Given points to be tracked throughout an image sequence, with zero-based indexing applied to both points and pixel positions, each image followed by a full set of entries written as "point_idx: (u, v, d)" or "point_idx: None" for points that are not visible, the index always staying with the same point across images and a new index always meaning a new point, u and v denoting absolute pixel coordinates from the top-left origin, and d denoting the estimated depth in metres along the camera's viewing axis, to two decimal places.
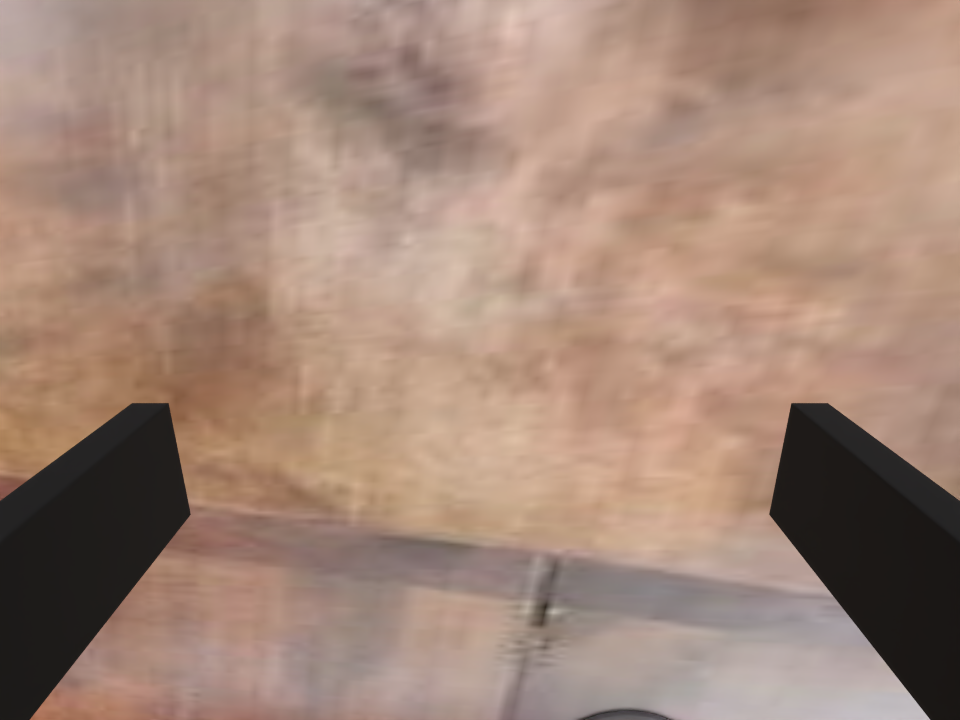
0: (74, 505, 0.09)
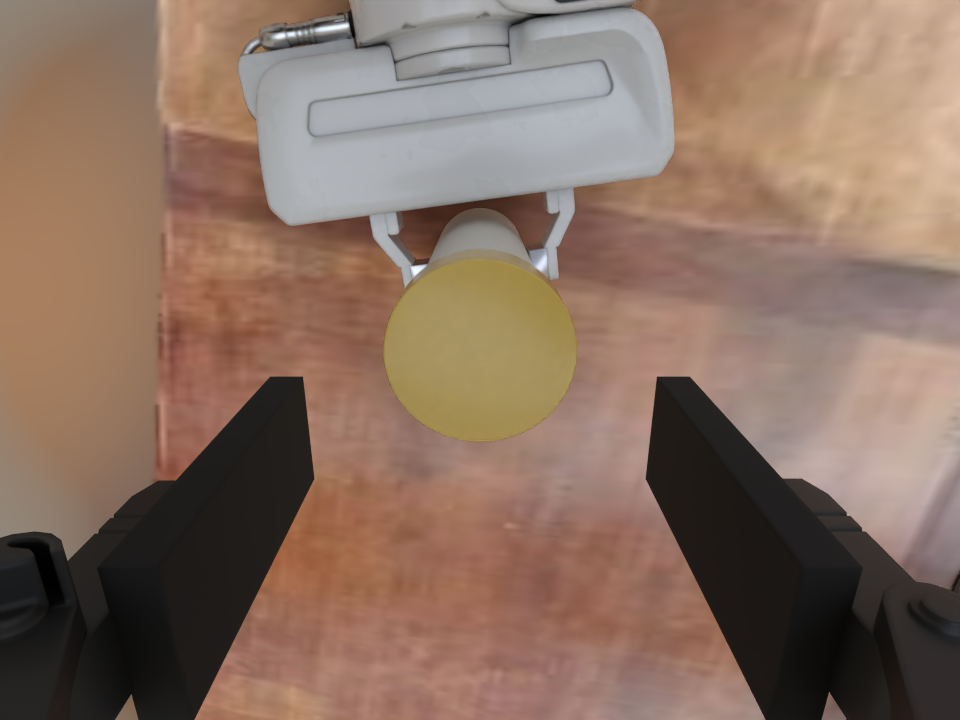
0: (256, 458, 0.11)
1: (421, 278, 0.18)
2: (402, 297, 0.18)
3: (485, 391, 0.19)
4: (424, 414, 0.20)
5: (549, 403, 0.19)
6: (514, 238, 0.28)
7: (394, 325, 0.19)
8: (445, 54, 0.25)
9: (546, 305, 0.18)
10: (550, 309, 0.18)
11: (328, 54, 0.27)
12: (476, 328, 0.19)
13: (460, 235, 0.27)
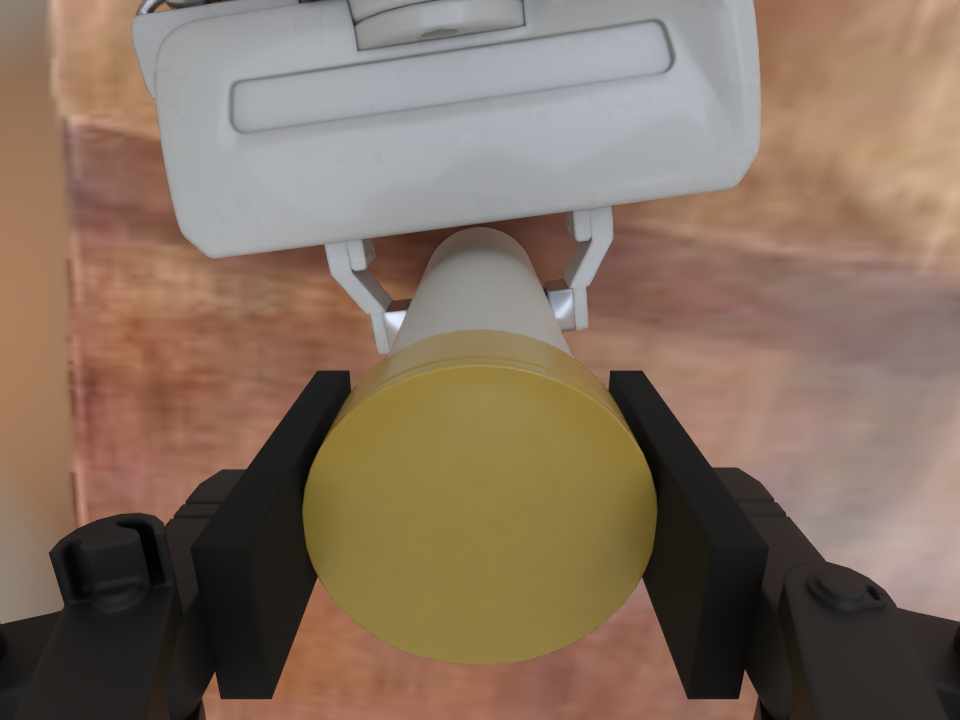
0: (316, 448, 0.11)
1: (368, 399, 0.09)
2: (333, 432, 0.10)
3: (489, 588, 0.11)
4: (381, 624, 0.11)
5: (604, 606, 0.11)
6: (529, 278, 0.20)
7: (320, 481, 0.10)
8: (427, 8, 0.17)
9: (604, 446, 0.10)
10: (612, 453, 0.10)
11: (256, 11, 0.18)
12: (473, 485, 0.10)
13: (450, 278, 0.18)
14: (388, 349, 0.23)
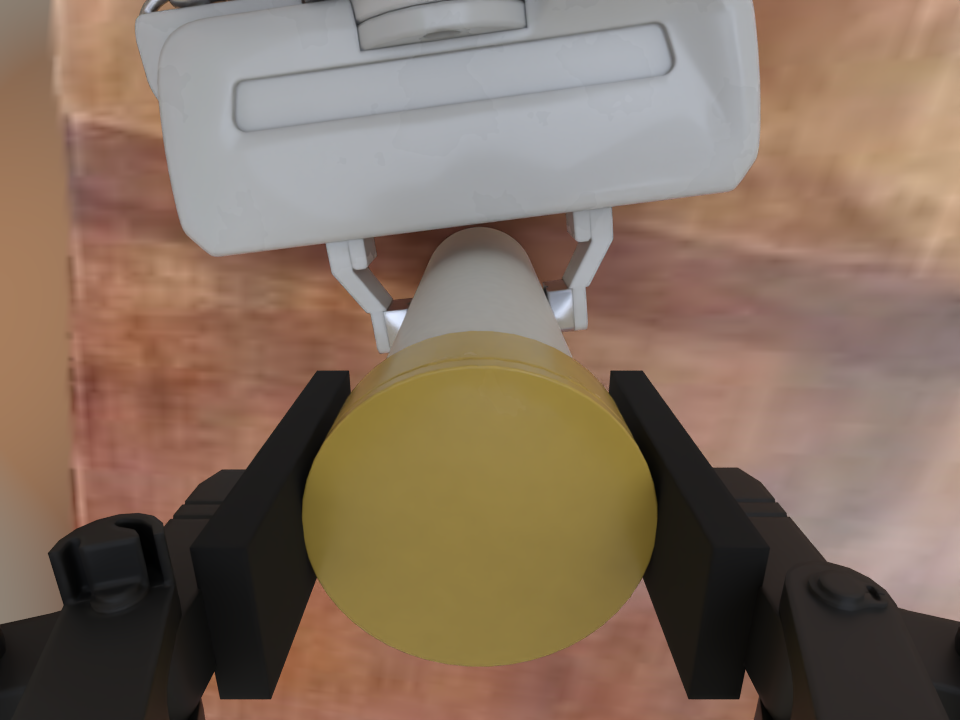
0: (315, 448, 0.11)
1: (338, 605, 0.11)
2: (370, 633, 0.11)
3: (551, 527, 0.10)
4: (584, 621, 0.11)
5: (591, 419, 0.10)
6: (529, 278, 0.20)
7: (418, 648, 0.11)
8: (430, 9, 0.17)
9: (385, 420, 0.10)
10: (393, 414, 0.09)
11: (260, 11, 0.18)
12: (427, 535, 0.10)
13: (451, 278, 0.18)
14: (388, 348, 0.23)
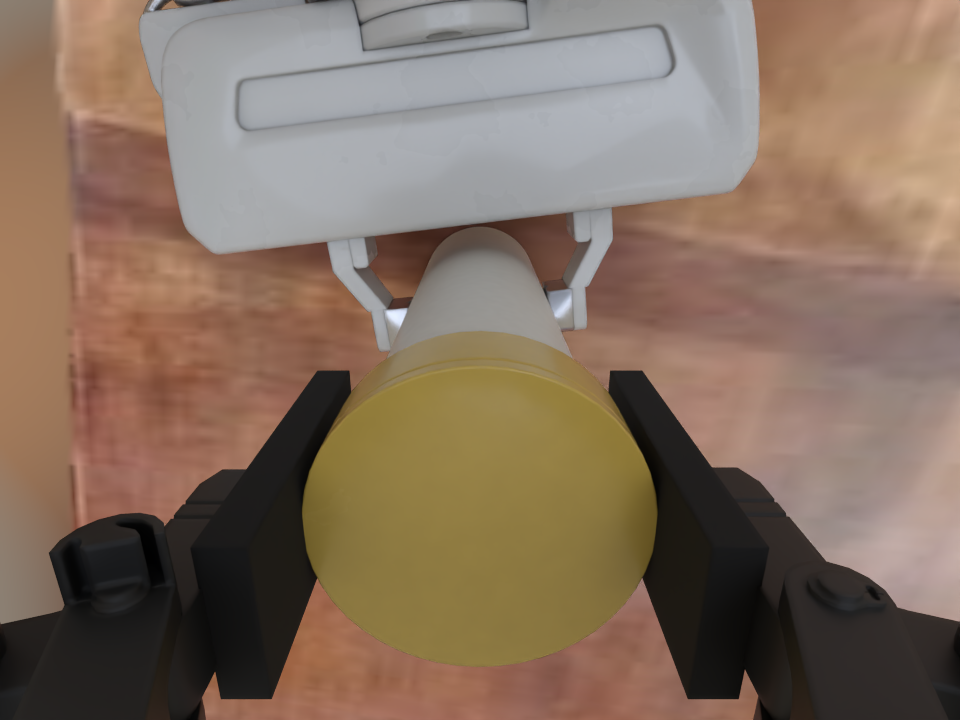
0: (316, 448, 0.11)
1: (556, 650, 0.11)
2: (594, 629, 0.11)
3: (478, 470, 0.10)
4: (607, 439, 0.10)
5: (353, 432, 0.10)
6: (529, 278, 0.20)
7: (618, 593, 0.11)
8: (432, 10, 0.17)
9: (356, 596, 0.11)
10: (349, 590, 0.11)
11: (263, 11, 0.18)
12: (479, 575, 0.11)
13: (452, 277, 0.18)
14: (389, 346, 0.23)
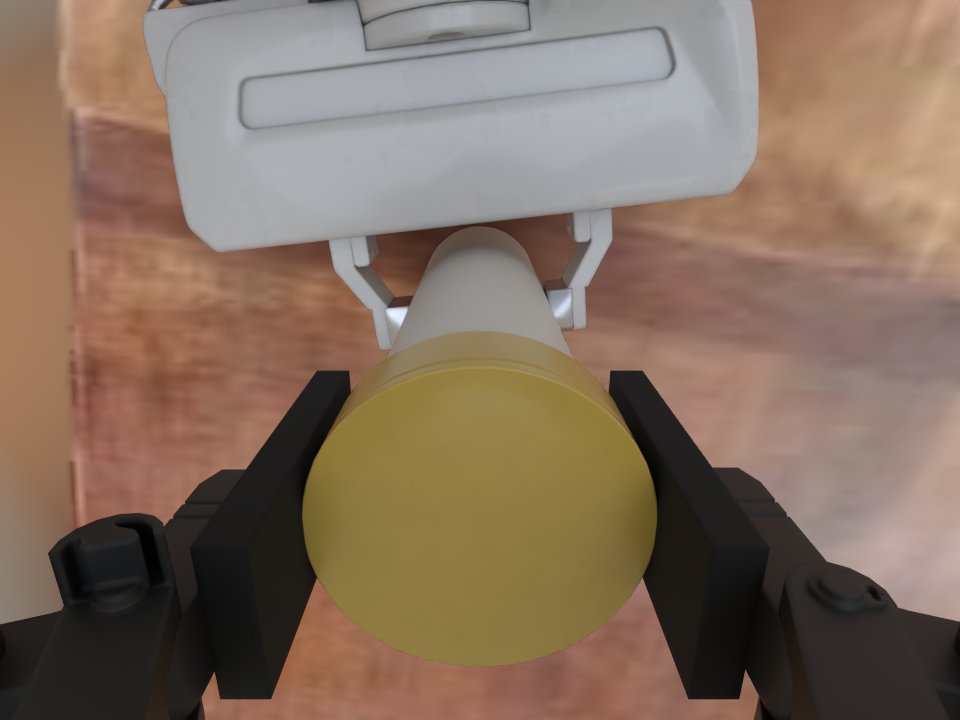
0: (316, 448, 0.11)
1: (646, 466, 0.10)
2: (621, 428, 0.10)
3: (408, 529, 0.10)
4: (375, 418, 0.10)
5: (368, 619, 0.11)
6: (529, 277, 0.20)
7: (571, 404, 0.09)
8: (435, 11, 0.17)
9: (546, 636, 0.11)
10: (537, 641, 0.11)
11: (267, 10, 0.19)
12: (532, 535, 0.10)
13: (453, 275, 0.18)
14: (389, 344, 0.23)
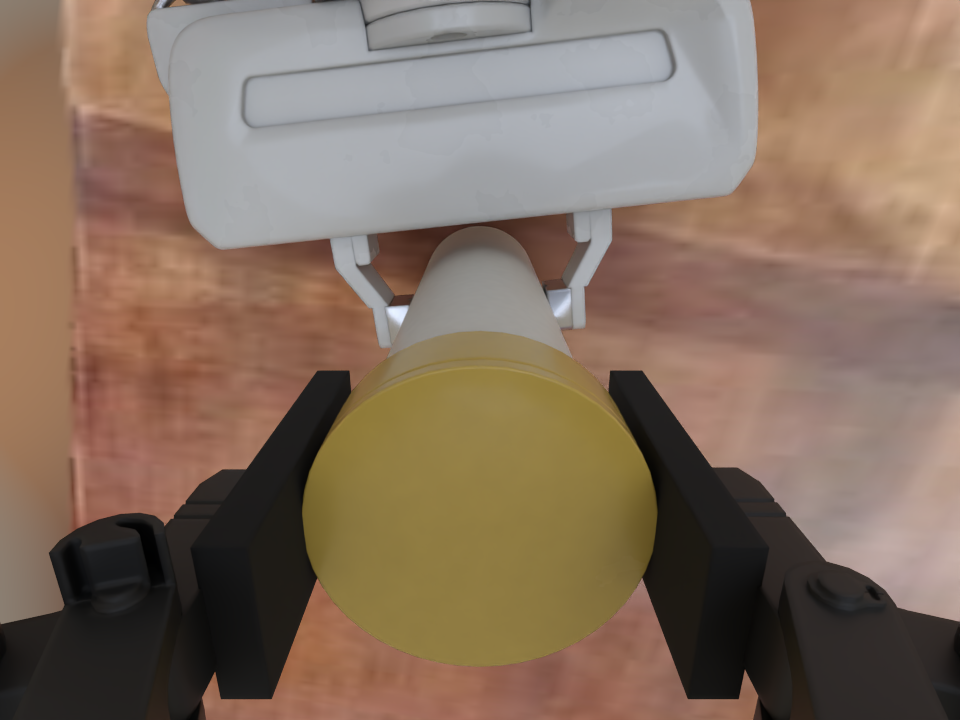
0: (316, 448, 0.11)
1: (408, 379, 0.09)
2: (364, 404, 0.09)
3: (472, 589, 0.11)
4: (354, 603, 0.11)
5: (575, 630, 0.11)
6: (529, 277, 0.20)
7: (337, 449, 0.10)
8: (438, 11, 0.17)
9: (622, 477, 0.10)
10: (627, 486, 0.10)
11: (271, 9, 0.19)
12: (486, 487, 0.10)
13: (453, 274, 0.18)
14: (389, 343, 0.23)
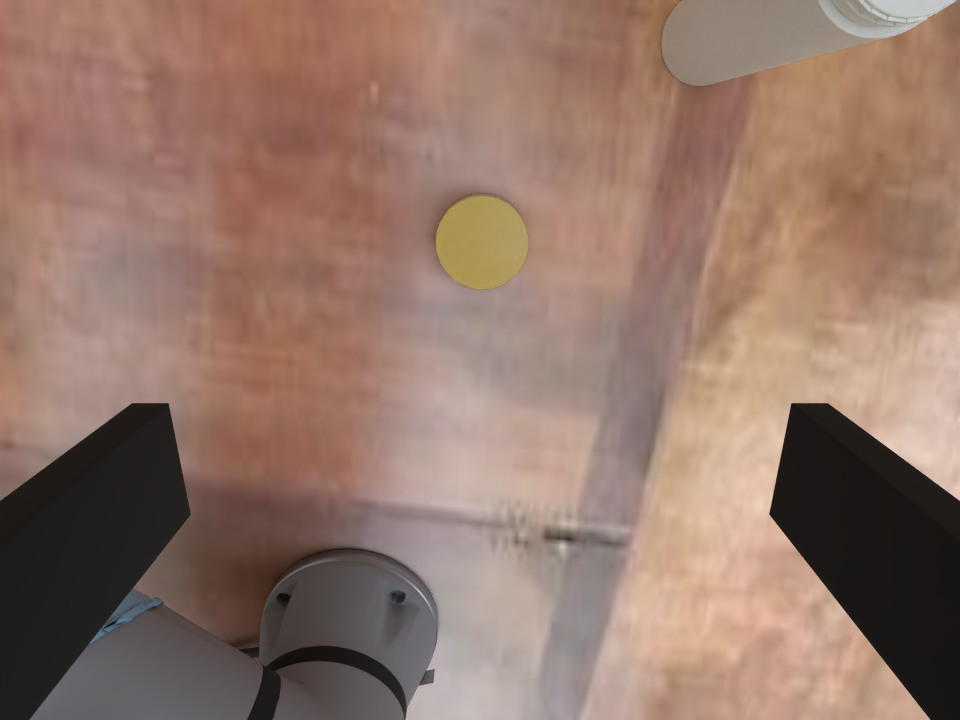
0: (74, 505, 0.09)
1: (464, 199, 0.38)
2: (453, 206, 0.38)
3: (480, 262, 0.40)
4: (447, 267, 0.40)
5: (508, 276, 0.40)
6: None
7: (446, 219, 0.39)
8: None
9: (518, 227, 0.39)
10: (519, 229, 0.39)
11: None
12: (483, 229, 0.39)
13: None
14: None
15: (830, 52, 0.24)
